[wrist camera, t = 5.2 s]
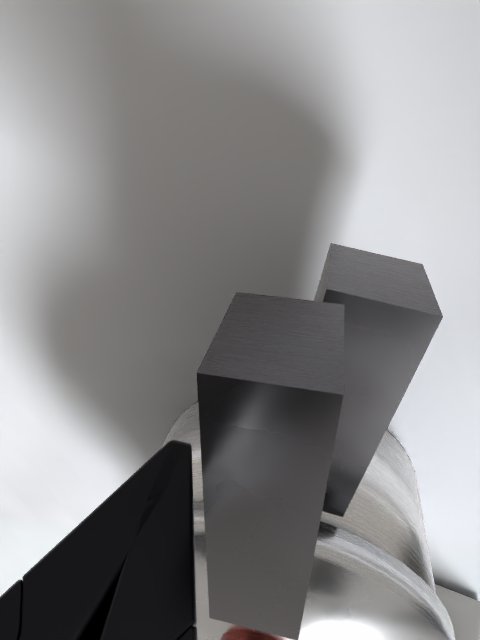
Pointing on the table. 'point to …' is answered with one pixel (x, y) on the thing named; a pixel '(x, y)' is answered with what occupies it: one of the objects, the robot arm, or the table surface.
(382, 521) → the pot
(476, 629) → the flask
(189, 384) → the table surface
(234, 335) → the lid
